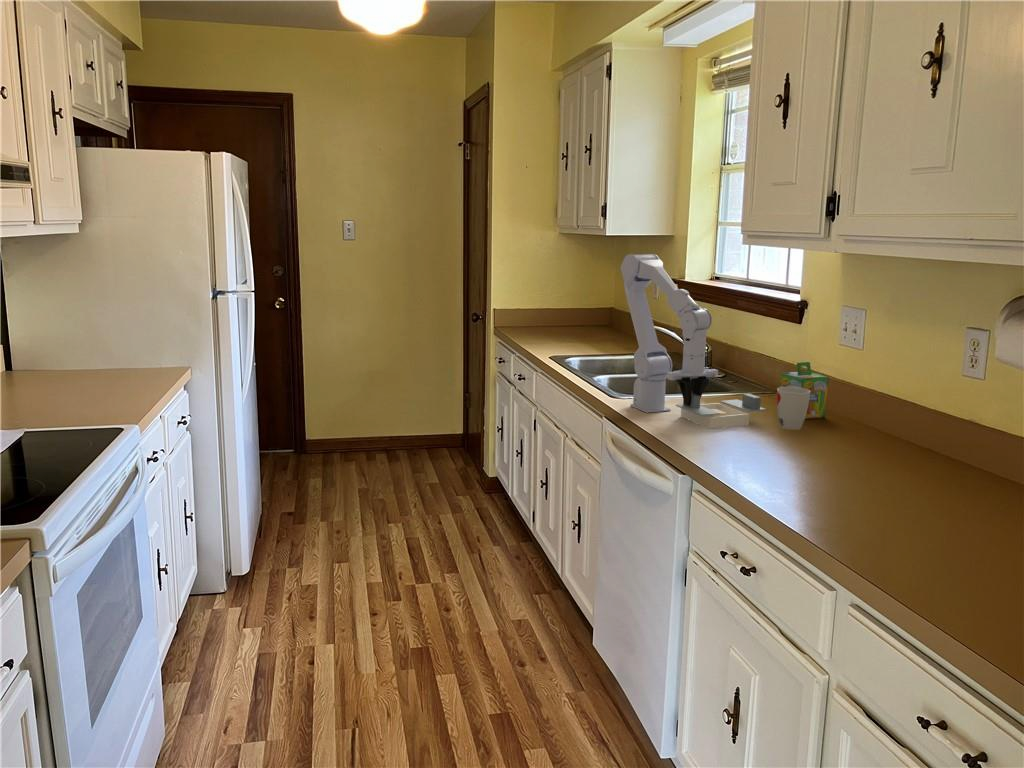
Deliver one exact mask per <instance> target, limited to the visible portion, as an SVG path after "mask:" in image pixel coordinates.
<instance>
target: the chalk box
mask: <svg viewBox="0 0 1024 768" xmlns="http://www.w3.org/2000/svg"><path fill="white" fill-rule="evenodd" d="M802 367H806V371H803V370H802ZM796 368H797V371H790V372H782V373H781V377H780V379H781V380H780V387H798V388H804V389H808V390H810V398H809V404H808V409H807V413H806V416H805V420H807V419H808V420H809V419H821V418H823V417H825V418H826V410H827V409H826V408H827V399H828V388H829V380H830V378H829V377H828V376H826V375H822V374H818V373H813V372H812V369H811V368H812V367H811V362H810V361H804V362H803V361H801V362H797V363H796ZM823 419H824V418H823Z"/></svg>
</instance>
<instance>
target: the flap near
mask: <svg viewBox="0 0 1024 768" xmlns="http://www.w3.org/2000/svg"><path fill="white" fill-rule="evenodd" d="M700 404H701V399H700V396H699V395H696V394H693V393H692V397H691V405H690V406H687V405H685V404H684V400H683V402H682V403H681V404H680V403H678V404H675V407H677V408H680V409H681V408H682V409H685V410H687V411H690V412H692V413H695V414H697V415H700V416H710V415H720V413H719V412H716V411H713V410H711V409H708V408H705V407H703V406H700Z"/></svg>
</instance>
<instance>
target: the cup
mask: <svg viewBox="0 0 1024 768" xmlns="http://www.w3.org/2000/svg"><path fill="white" fill-rule="evenodd" d="M776 390H777V393H776V397H777V398H776V407H777V409H776V410H777V417H778V421H779V425H780V428H781V427H782V429H785V430H793V431H795V430H796V431H797V430H801V429H802V427H803V424H804V422H805V420H806V419H805V416H806V413H807V409H808V404H809V398H810V390H808V389H804V388H798V387H781V386H780V387H777V389H776Z"/></svg>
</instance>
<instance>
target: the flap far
mask: <svg viewBox="0 0 1024 768" xmlns="http://www.w3.org/2000/svg"><path fill="white" fill-rule="evenodd" d="M761 399H762V397H761V396H758V395H755V394H752V393H743V394H742V400H740V399H737V398H736V399H729V400H728V399H727V400H720V404H723V405H726V406H729V407H732V408H735V409H737V410H740V411H743V412H746V413H753V412H764V411H767V408H764V407H761V403H762V402H761V401H762V400H761Z"/></svg>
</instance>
